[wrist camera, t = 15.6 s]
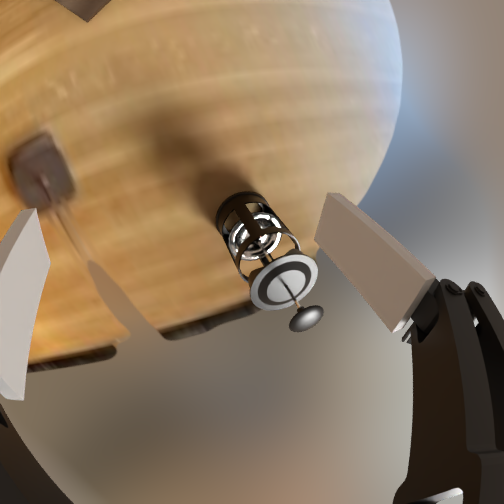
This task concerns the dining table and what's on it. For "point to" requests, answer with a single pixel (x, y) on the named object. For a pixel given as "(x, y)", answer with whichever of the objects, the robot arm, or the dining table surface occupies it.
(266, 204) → the french press
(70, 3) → the brown flat square slab
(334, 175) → the dining table surface
